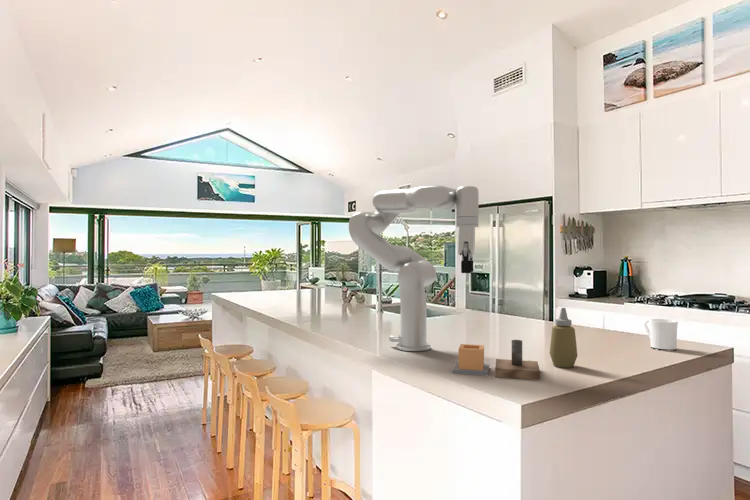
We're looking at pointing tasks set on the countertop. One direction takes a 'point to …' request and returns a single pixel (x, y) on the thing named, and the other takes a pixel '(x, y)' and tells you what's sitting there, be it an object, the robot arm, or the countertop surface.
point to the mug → (662, 333)
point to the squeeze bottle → (563, 342)
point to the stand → (517, 365)
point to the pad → (472, 372)
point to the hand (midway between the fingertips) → (467, 272)
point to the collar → (471, 357)
